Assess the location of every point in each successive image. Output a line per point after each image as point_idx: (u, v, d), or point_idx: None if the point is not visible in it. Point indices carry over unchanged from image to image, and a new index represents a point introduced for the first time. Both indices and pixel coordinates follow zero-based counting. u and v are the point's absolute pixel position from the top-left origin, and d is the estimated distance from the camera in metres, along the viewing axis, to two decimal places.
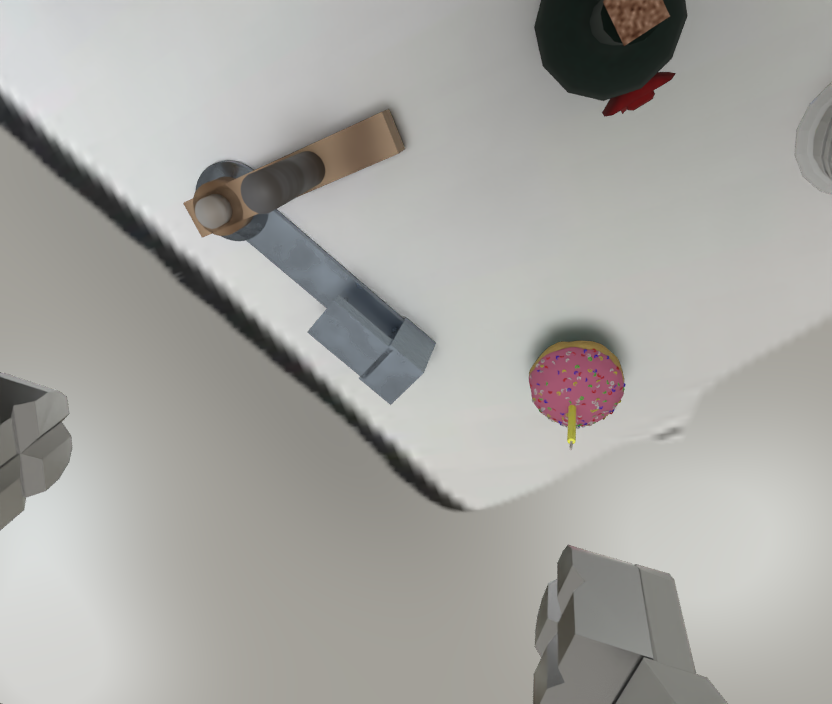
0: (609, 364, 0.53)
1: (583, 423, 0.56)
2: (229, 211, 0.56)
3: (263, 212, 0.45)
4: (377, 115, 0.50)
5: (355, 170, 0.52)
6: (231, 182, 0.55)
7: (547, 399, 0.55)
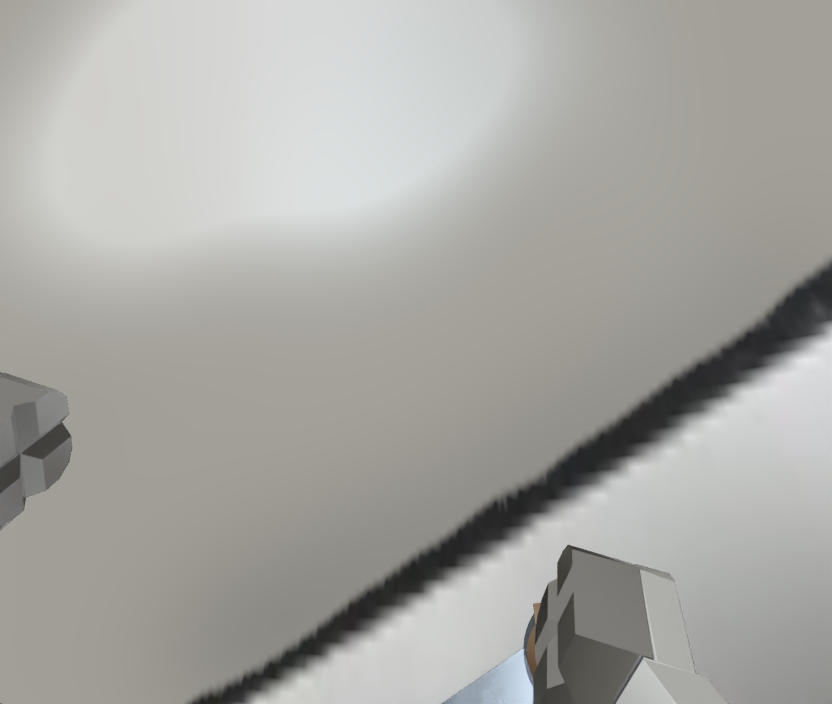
0: None
1: None
2: None
3: None
4: None
5: None
6: None
7: None
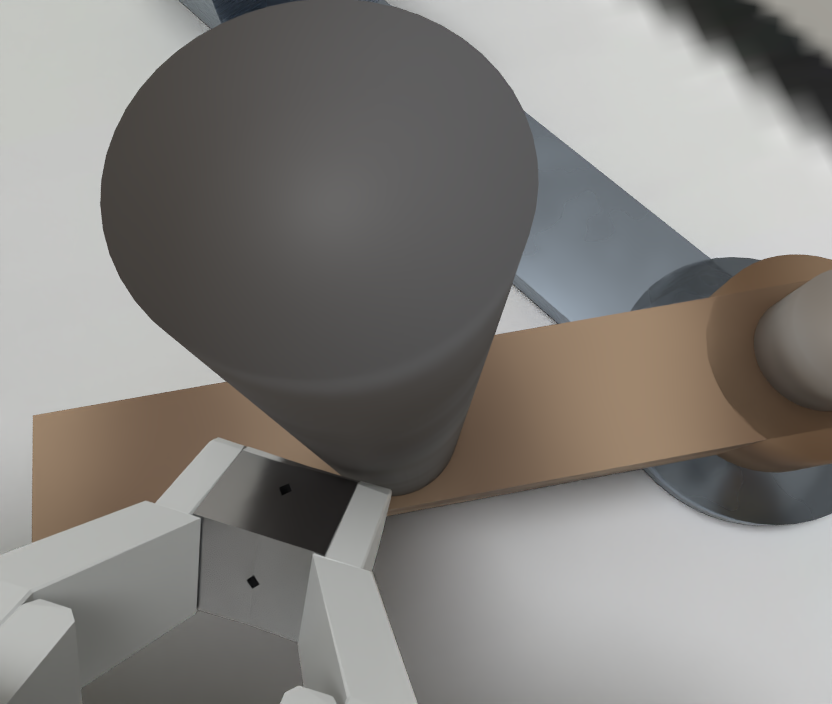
0: None
1: None
2: (765, 331, 0.14)
3: (355, 10, 0.05)
4: None
5: (213, 388, 0.14)
6: (731, 440, 0.14)
7: None
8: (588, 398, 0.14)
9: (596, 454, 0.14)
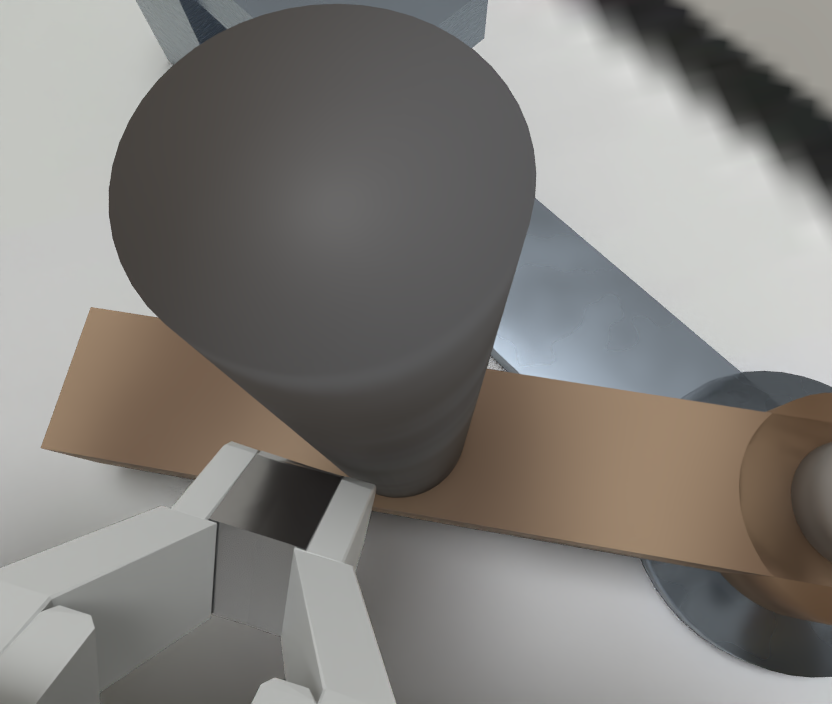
0: None
1: None
2: (809, 466, 0.13)
3: (416, 29, 0.05)
4: (60, 446, 0.14)
5: None
6: (734, 563, 0.13)
7: None
8: (600, 469, 0.13)
9: (589, 527, 0.13)
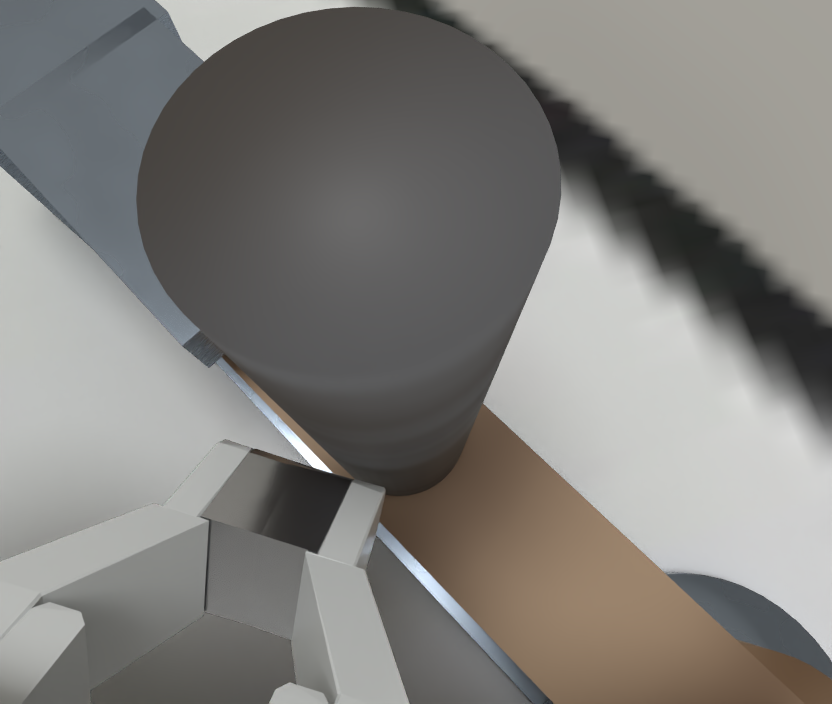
0: None
1: None
2: None
3: (521, 98, 0.04)
4: None
5: None
6: None
7: None
8: (547, 583, 0.13)
9: (502, 624, 0.13)
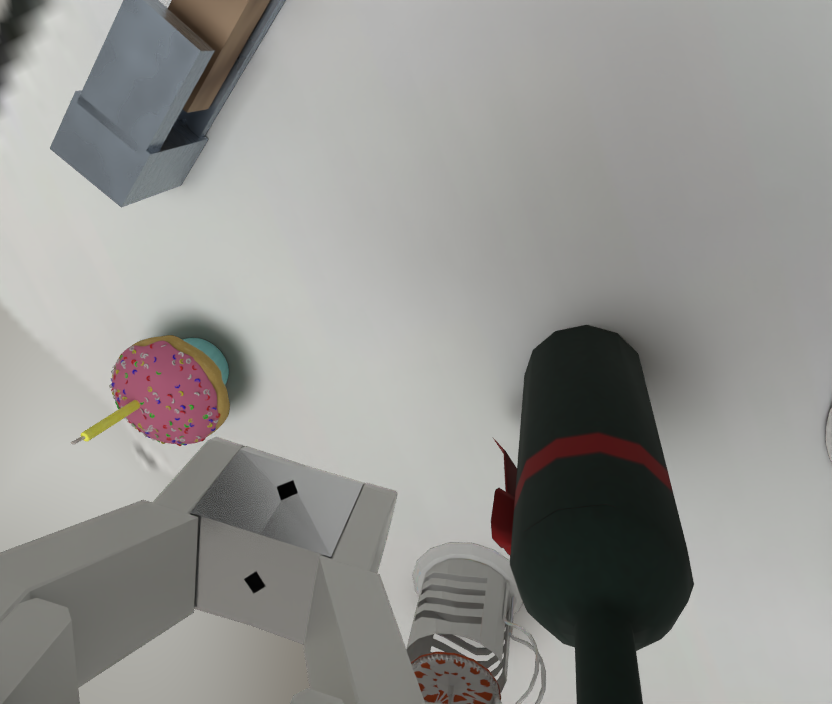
0: (204, 433, 0.44)
1: None
2: None
3: None
4: (188, 105, 0.35)
5: (170, 8, 0.33)
6: None
7: (137, 373, 0.41)
8: None
9: None
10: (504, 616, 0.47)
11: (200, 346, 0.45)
